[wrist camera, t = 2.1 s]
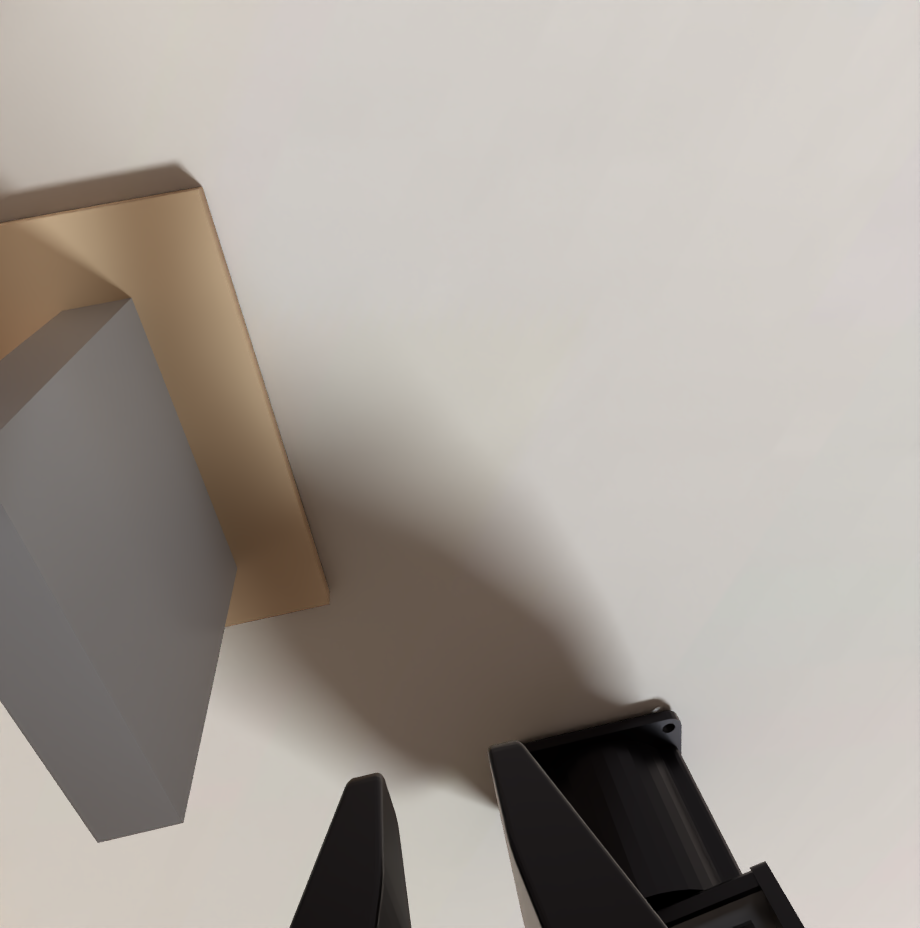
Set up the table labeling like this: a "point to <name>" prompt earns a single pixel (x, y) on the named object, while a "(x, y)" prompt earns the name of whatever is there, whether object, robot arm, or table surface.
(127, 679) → the slate tile
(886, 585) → the table surface
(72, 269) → the cork mat
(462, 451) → the table surface
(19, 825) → the table surface
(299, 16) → the table surface
